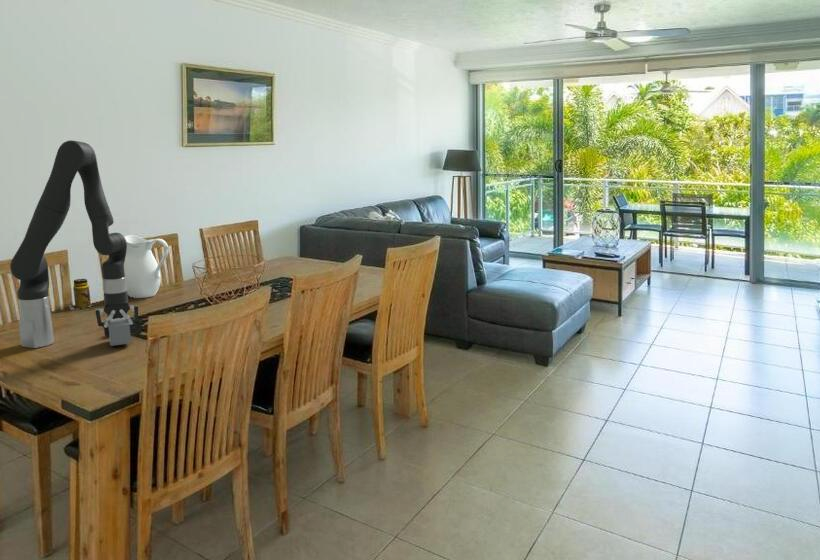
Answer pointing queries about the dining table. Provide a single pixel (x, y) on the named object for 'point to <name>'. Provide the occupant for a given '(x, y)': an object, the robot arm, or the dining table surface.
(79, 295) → the condiment
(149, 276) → the pitcher
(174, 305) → the dining table surface
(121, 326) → the grey rectangular block
